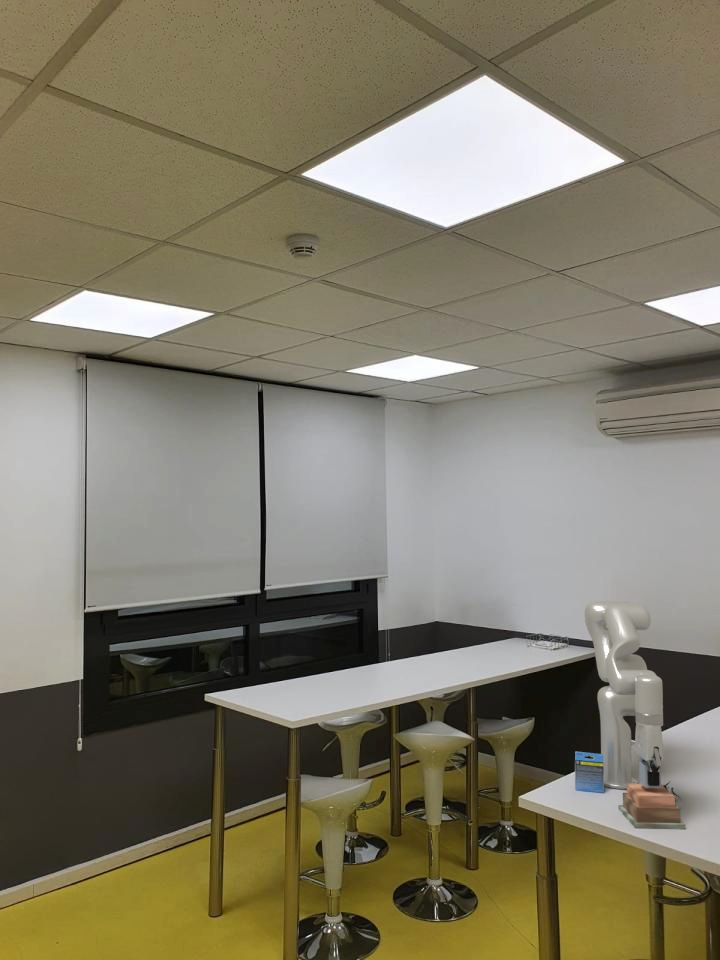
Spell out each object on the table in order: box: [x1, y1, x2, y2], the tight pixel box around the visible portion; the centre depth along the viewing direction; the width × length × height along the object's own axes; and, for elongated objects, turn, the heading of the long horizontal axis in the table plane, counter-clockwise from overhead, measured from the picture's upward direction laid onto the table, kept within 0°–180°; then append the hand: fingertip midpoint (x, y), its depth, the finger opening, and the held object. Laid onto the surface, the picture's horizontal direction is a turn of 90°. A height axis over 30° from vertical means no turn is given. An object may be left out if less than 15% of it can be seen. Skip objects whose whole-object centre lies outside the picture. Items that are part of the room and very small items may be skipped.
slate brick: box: [638, 760, 662, 788], centre depth 213 cm, size 4×4×7 cm
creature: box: [662, 780, 682, 800], centre depth 227 cm, size 8×5×8 cm
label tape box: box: [574, 751, 605, 794], centre depth 235 cm, size 9×4×12 cm, turn 74°
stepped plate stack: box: [618, 783, 686, 830], centre depth 212 cm, size 14×14×8 cm
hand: (650, 781), depth 213 cm, fingers closed on slate brick, 4 cm apart
